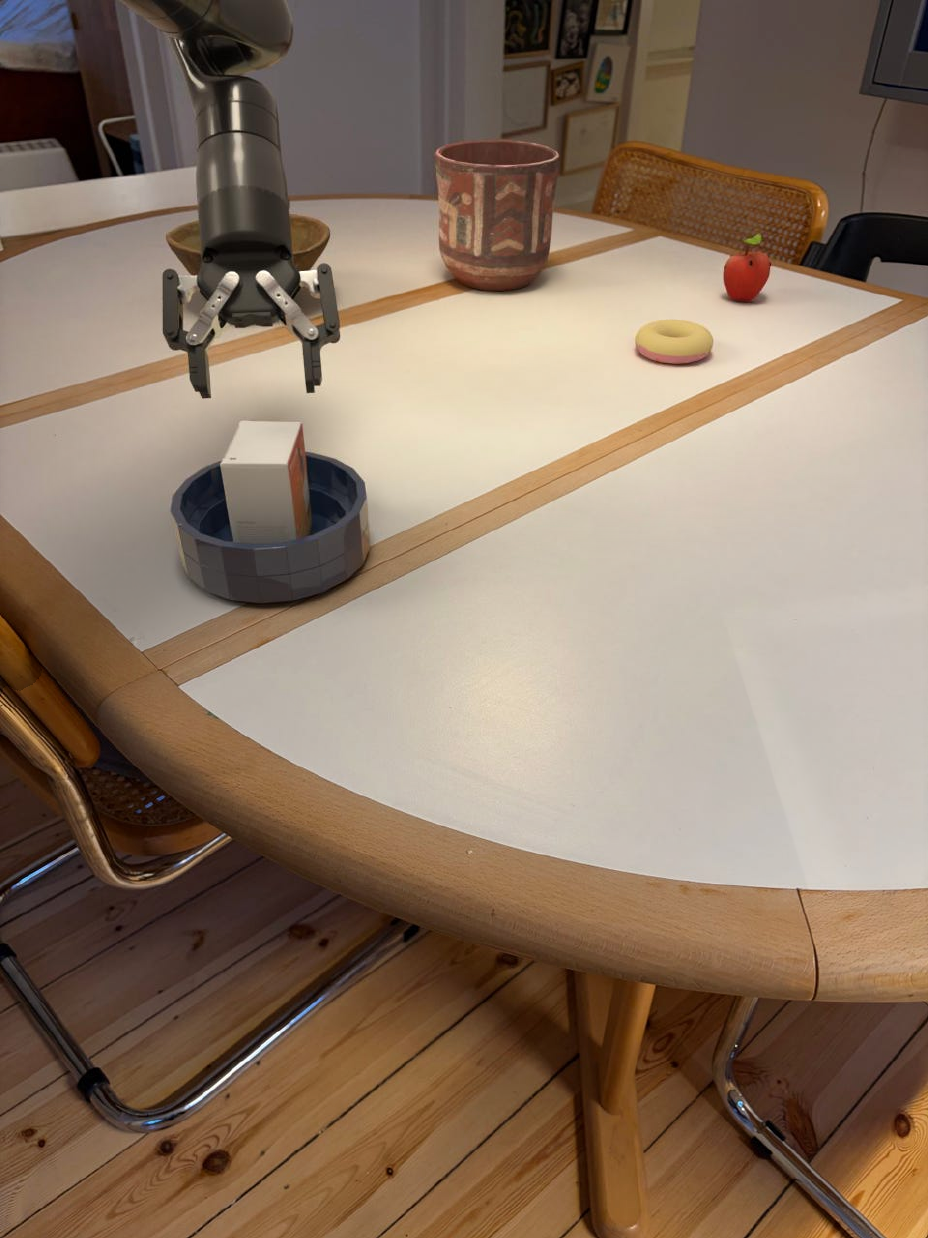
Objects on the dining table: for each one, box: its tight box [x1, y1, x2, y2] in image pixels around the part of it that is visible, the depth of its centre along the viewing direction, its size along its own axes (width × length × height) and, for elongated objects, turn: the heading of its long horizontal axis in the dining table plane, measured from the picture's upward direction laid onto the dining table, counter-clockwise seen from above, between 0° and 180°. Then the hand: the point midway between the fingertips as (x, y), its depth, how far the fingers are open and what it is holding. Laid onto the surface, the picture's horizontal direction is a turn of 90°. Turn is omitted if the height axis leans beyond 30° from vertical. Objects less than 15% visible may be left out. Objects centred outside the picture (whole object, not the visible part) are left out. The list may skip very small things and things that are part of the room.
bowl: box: [165, 213, 331, 275], centre depth 132 cm, size 22×23×10 cm
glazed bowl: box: [169, 451, 371, 604], centre depth 83 cm, size 17×17×6 cm
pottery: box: [433, 139, 561, 292], centre depth 139 cm, size 18×18×18 cm
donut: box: [634, 319, 714, 365], centre depth 121 cm, size 10×5×9 cm
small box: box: [220, 420, 312, 544], centre depth 81 cm, size 8×6×10 cm
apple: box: [722, 233, 772, 303], centre depth 135 cm, size 8×7×10 cm
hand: (258, 392), depth 77 cm, fingers open, 8 cm apart
